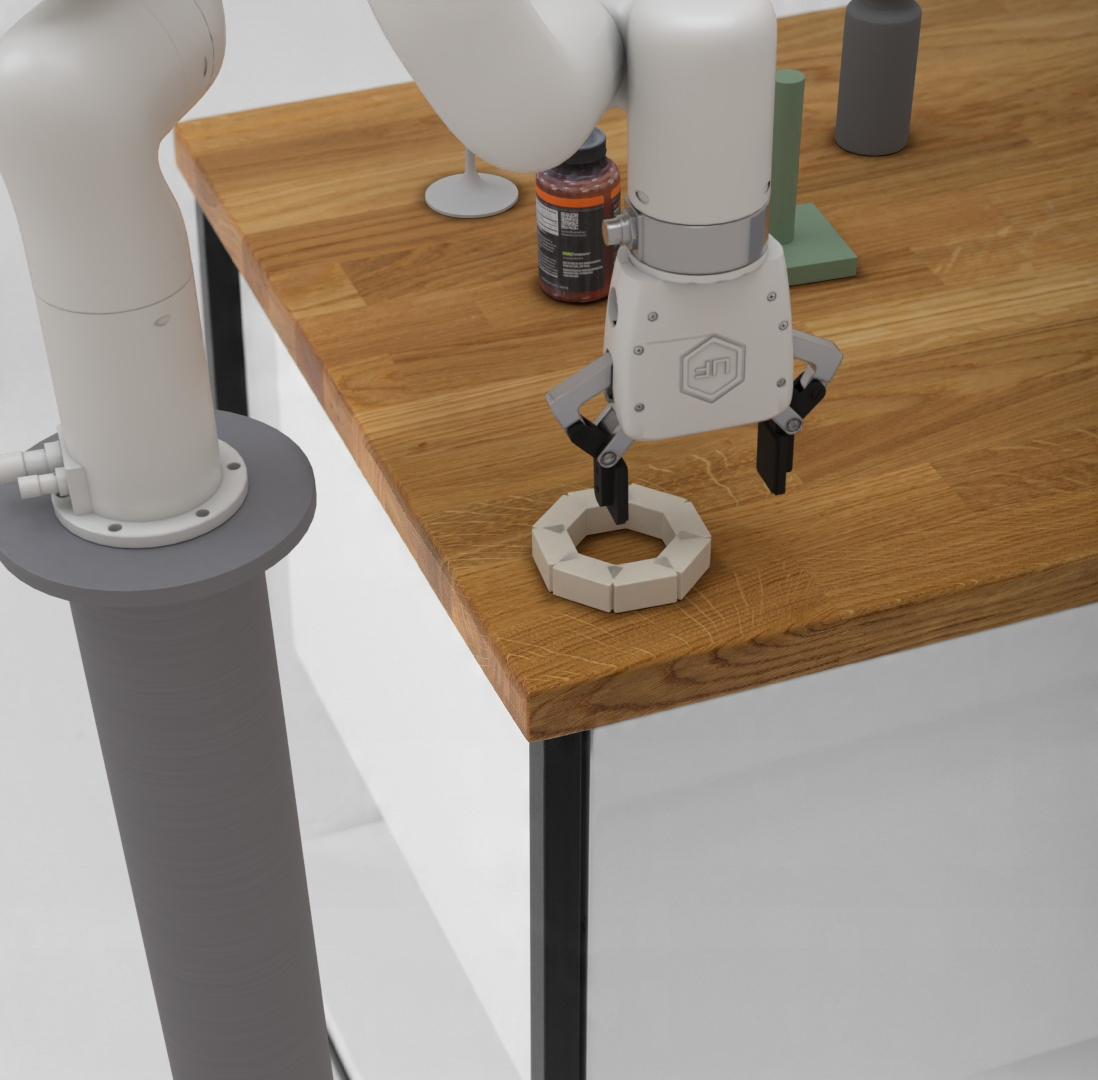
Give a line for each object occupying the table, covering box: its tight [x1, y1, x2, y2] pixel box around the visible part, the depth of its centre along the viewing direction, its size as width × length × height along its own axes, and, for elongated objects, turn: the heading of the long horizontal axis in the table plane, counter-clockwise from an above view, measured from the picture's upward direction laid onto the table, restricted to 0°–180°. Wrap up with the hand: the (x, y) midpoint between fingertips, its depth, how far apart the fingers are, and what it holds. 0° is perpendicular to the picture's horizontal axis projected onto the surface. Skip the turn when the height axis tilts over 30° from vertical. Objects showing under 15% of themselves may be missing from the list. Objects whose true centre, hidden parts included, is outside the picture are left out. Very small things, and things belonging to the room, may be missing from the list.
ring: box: [531, 482, 712, 614], centre depth 122 cm, size 10×10×2 cm
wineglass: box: [424, 145, 519, 219], centre depth 150 cm, size 8×8×21 cm
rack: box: [769, 68, 858, 287], centre depth 145 cm, size 9×9×14 cm
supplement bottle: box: [535, 126, 622, 303], centre depth 143 cm, size 6×6×11 cm
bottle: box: [834, 0, 923, 156], centre depth 159 cm, size 6×6×15 cm
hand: (693, 497), depth 120 cm, fingers open, 9 cm apart
